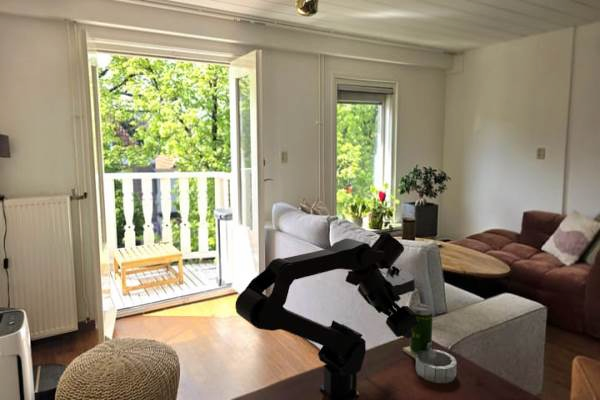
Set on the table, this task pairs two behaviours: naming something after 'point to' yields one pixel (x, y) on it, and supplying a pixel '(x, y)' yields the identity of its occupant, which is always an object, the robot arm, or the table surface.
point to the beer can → (422, 328)
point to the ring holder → (436, 373)
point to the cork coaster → (409, 352)
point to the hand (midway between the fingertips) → (399, 325)
